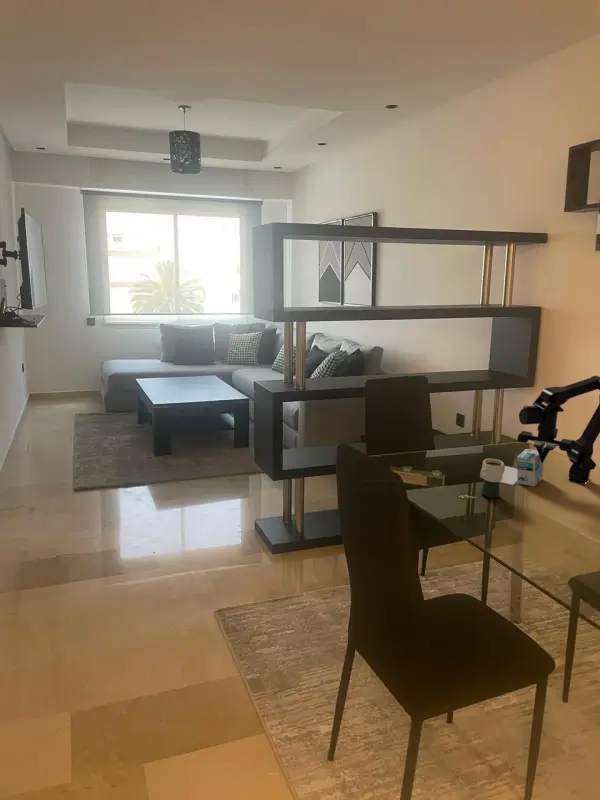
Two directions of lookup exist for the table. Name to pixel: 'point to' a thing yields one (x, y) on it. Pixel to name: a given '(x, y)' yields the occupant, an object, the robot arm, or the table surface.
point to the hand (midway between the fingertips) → (542, 462)
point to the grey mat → (509, 476)
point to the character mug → (491, 477)
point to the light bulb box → (529, 467)
